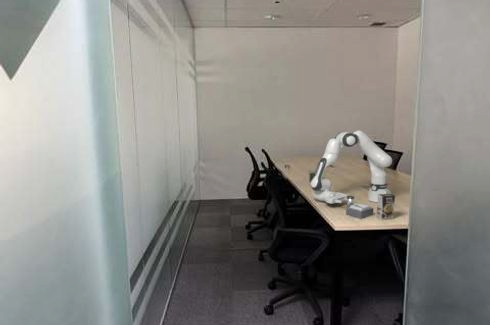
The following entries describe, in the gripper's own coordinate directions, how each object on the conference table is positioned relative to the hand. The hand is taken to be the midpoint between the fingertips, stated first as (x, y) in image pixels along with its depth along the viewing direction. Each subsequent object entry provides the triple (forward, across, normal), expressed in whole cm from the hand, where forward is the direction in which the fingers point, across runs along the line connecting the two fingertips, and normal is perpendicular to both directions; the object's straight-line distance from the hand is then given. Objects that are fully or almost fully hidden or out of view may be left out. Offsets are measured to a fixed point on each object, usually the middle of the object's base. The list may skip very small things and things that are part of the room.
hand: (345, 200), depth 250 cm
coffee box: (+31, +1, +6) cm, 32 cm away
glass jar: (+4, 0, +6) cm, 7 cm away
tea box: (-70, +49, +6) cm, 86 cm away
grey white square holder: (+16, -6, +6) cm, 18 cm away
